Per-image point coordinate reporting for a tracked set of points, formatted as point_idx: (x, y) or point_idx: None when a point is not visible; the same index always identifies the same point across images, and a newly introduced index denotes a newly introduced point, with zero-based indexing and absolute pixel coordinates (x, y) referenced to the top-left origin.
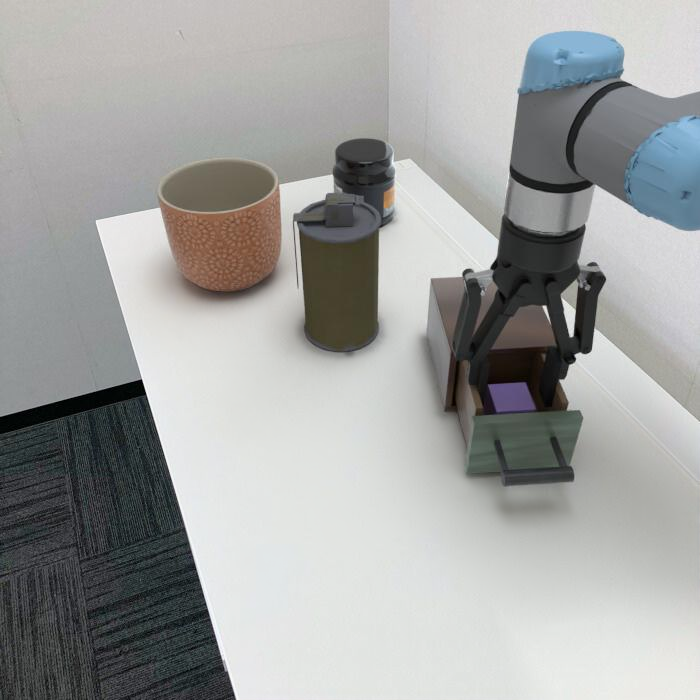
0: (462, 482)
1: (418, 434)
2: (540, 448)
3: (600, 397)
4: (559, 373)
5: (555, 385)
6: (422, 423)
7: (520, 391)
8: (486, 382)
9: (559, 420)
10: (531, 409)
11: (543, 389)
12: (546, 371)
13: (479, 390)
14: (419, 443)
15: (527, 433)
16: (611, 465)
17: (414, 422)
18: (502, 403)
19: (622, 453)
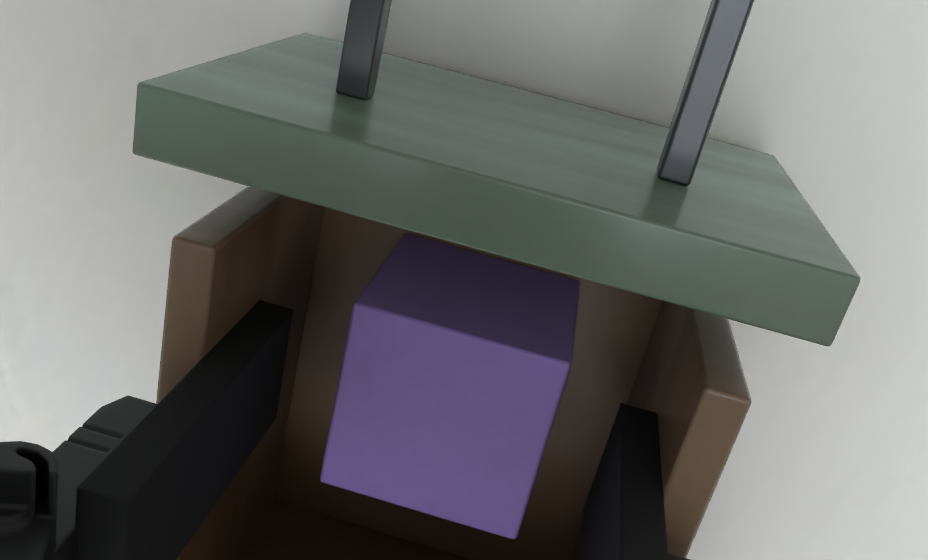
0: (794, 135)
1: (830, 438)
2: (427, 96)
3: (22, 341)
4: (137, 425)
5: (195, 375)
6: (779, 482)
7: (374, 439)
8: (626, 541)
9: (292, 121)
10: (378, 310)
11: (259, 399)
12: (204, 481)
13: (662, 509)
14: (854, 395)
15: (498, 147)
16: (120, 4)
17: (809, 498)
18: (508, 403)
19: (50, 49)
